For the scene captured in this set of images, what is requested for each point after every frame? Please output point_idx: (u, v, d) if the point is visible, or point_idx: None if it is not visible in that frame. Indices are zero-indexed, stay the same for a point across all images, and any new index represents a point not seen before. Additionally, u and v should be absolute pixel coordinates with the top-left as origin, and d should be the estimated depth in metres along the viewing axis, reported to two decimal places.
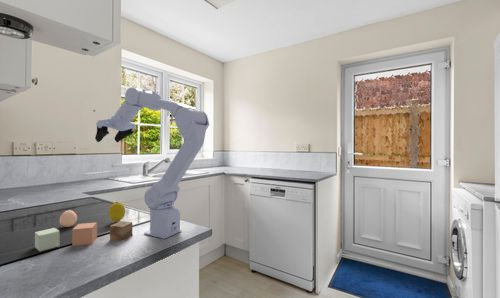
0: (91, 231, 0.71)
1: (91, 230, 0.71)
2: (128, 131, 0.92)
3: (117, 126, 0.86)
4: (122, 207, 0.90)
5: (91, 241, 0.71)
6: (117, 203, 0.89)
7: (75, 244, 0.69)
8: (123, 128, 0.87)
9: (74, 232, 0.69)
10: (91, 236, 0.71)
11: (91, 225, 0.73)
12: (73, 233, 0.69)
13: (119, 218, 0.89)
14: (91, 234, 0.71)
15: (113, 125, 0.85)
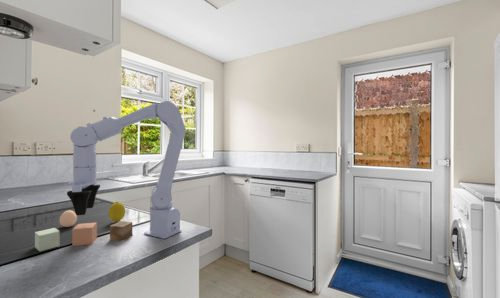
0: (91, 231, 0.71)
1: (91, 230, 0.71)
2: (95, 185, 0.77)
3: (91, 180, 0.71)
4: (122, 207, 0.90)
5: (91, 241, 0.71)
6: (117, 203, 0.89)
7: (75, 244, 0.69)
8: (95, 179, 0.73)
9: (74, 232, 0.69)
10: (91, 236, 0.71)
11: (91, 225, 0.73)
12: (73, 233, 0.69)
13: (119, 218, 0.89)
14: (91, 234, 0.71)
15: (86, 182, 0.70)
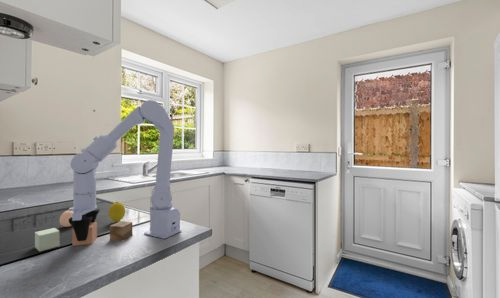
0: (91, 231, 0.71)
1: (91, 230, 0.71)
2: (95, 209, 0.77)
3: (91, 206, 0.71)
4: (122, 207, 0.90)
5: (91, 241, 0.71)
6: (117, 203, 0.89)
7: (75, 244, 0.69)
8: None
9: (74, 232, 0.69)
10: (91, 236, 0.71)
11: (91, 225, 0.73)
12: (73, 233, 0.69)
13: (119, 218, 0.89)
14: (91, 234, 0.71)
15: (86, 209, 0.70)
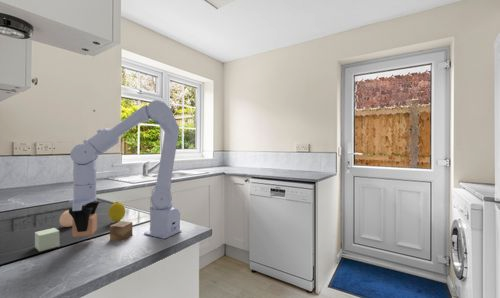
0: (91, 222, 0.71)
1: (91, 221, 0.71)
2: (95, 201, 0.77)
3: (91, 197, 0.71)
4: (122, 207, 0.90)
5: (91, 232, 0.71)
6: (117, 203, 0.89)
7: (75, 235, 0.69)
8: None
9: (74, 222, 0.69)
10: (91, 227, 0.71)
11: (91, 216, 0.72)
12: (73, 223, 0.69)
13: (119, 218, 0.89)
14: (91, 225, 0.71)
15: (86, 200, 0.70)
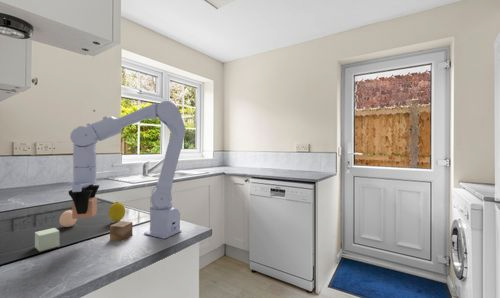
0: (91, 204, 0.71)
1: (91, 203, 0.71)
2: (95, 185, 0.77)
3: (91, 180, 0.71)
4: (122, 207, 0.90)
5: (91, 214, 0.71)
6: (117, 203, 0.89)
7: (75, 217, 0.69)
8: (95, 179, 0.73)
9: (74, 205, 0.69)
10: (91, 209, 0.71)
11: (91, 199, 0.72)
12: (73, 206, 0.69)
13: (119, 218, 0.89)
14: (91, 207, 0.71)
15: (86, 182, 0.70)
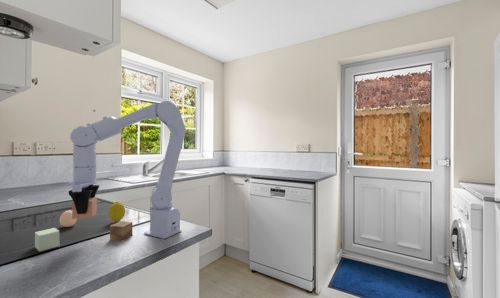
0: (91, 204, 0.71)
1: (91, 203, 0.71)
2: (95, 185, 0.77)
3: (91, 180, 0.71)
4: (122, 207, 0.90)
5: (91, 214, 0.71)
6: (117, 203, 0.89)
7: (75, 217, 0.69)
8: (95, 179, 0.73)
9: (74, 205, 0.69)
10: (91, 209, 0.71)
11: (91, 199, 0.72)
12: (73, 206, 0.69)
13: (119, 218, 0.89)
14: (91, 207, 0.71)
15: (86, 182, 0.70)
